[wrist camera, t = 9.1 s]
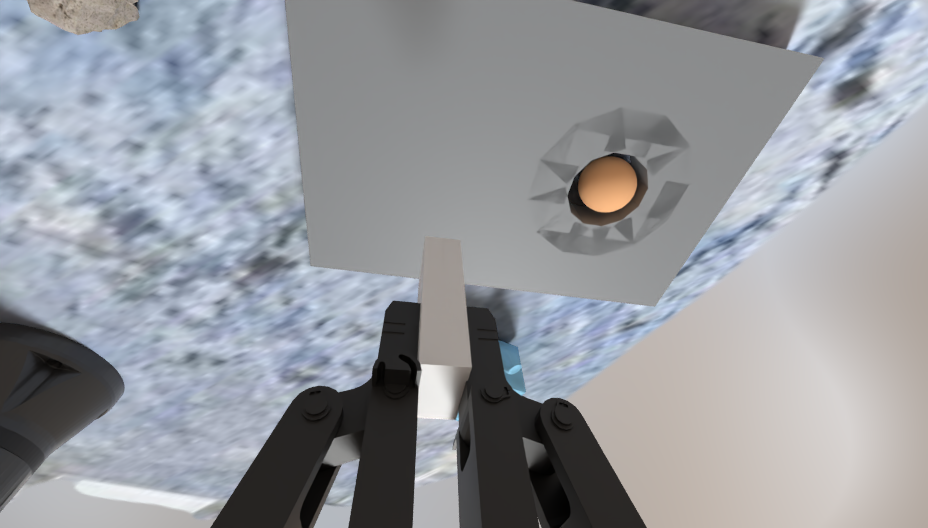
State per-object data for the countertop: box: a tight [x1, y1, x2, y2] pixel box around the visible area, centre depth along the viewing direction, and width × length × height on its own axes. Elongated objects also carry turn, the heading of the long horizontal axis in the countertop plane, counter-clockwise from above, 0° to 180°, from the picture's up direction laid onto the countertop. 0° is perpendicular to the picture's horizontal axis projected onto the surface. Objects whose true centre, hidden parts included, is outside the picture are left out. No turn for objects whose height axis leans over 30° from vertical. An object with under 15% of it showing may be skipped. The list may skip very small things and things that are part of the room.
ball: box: [578, 156, 637, 212], centre depth 26 cm, size 4×4×4 cm
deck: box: [285, 0, 824, 306], centre depth 26 cm, size 30×20×3 cm, turn 80°
